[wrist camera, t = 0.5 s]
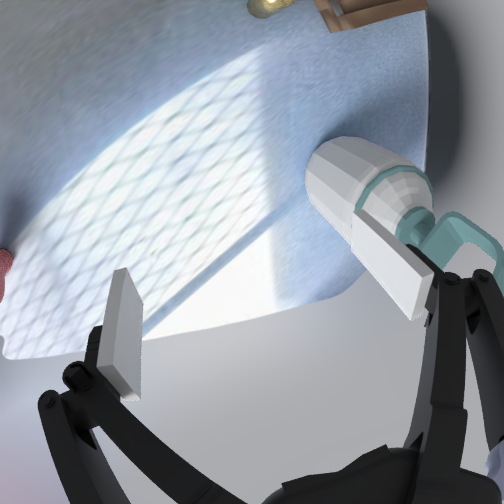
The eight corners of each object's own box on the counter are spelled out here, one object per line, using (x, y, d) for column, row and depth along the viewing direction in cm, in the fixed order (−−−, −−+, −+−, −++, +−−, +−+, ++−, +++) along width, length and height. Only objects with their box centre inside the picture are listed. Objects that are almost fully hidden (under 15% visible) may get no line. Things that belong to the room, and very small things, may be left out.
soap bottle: (279, 183, 43) (422, 354, 17) (331, 113, 39) (535, 207, 13) (337, 222, 48) (466, 370, 23) (383, 162, 44) (545, 274, 19)
